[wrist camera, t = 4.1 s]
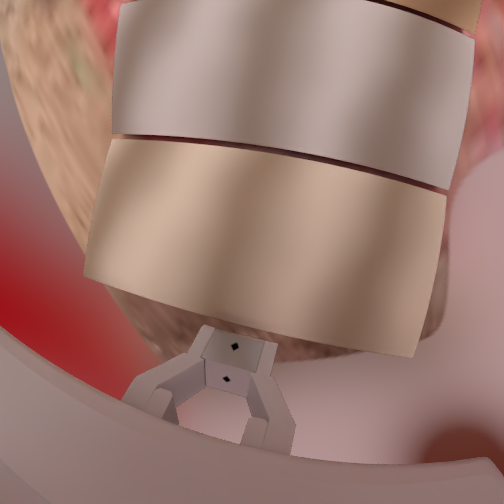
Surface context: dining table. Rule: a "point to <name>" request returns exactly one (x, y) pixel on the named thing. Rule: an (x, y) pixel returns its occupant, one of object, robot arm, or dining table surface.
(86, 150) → the dining table surface
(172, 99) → the grey plank
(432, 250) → the birch plank
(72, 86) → the dining table surface
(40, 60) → the dining table surface
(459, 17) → the oak plank
